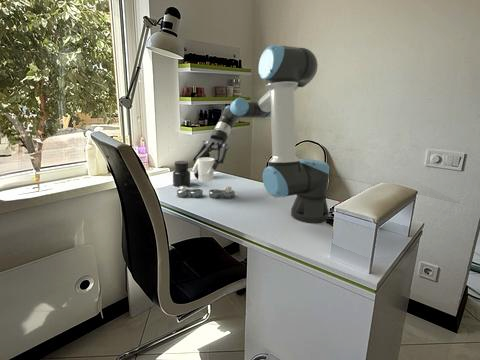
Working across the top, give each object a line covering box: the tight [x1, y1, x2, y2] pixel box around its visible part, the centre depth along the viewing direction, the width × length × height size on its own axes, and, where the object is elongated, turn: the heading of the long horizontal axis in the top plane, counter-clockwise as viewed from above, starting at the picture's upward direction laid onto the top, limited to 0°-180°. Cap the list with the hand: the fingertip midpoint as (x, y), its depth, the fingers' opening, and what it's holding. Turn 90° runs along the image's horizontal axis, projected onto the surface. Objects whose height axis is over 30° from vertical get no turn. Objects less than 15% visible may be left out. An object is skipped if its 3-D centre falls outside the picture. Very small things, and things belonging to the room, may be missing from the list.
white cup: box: [197, 157, 215, 183], centre depth 147 cm, size 8×8×10 cm
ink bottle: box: [172, 160, 191, 188], centre depth 166 cm, size 10×9×12 cm
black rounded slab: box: [192, 152, 211, 179], centre depth 179 cm, size 11×3×15 cm, turn 127°
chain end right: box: [208, 186, 236, 200], centre depth 150 cm, size 6×12×4 cm, turn 91°
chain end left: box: [176, 186, 204, 199], centre depth 150 cm, size 6×12×4 cm, turn 91°
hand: (201, 173), depth 145 cm, fingers closed on white cup, 8 cm apart
